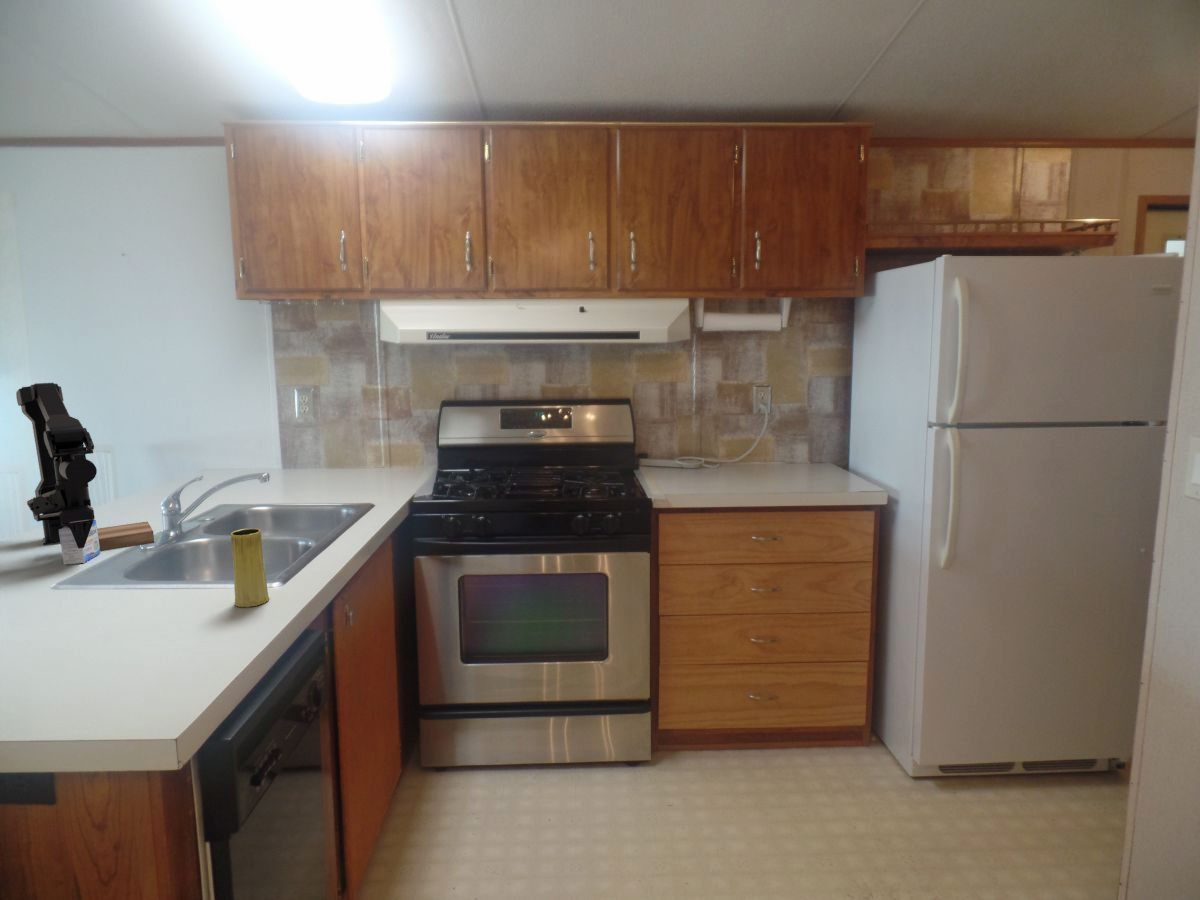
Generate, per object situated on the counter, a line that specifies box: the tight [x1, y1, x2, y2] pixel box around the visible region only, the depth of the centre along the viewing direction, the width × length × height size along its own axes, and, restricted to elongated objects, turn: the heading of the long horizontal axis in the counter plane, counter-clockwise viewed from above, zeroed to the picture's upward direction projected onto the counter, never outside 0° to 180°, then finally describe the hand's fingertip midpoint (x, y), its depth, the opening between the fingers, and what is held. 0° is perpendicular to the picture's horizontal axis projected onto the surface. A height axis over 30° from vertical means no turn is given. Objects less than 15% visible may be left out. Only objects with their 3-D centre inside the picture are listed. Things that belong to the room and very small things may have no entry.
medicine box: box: [59, 519, 101, 565], centre depth 165 cm, size 8×4×9 cm, turn 12°
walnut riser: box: [97, 521, 155, 552], centre depth 179 cm, size 12×12×3 cm
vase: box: [230, 527, 270, 608], centre depth 137 cm, size 6×6×14 cm
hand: (80, 543), depth 165 cm, fingers open, 9 cm apart
